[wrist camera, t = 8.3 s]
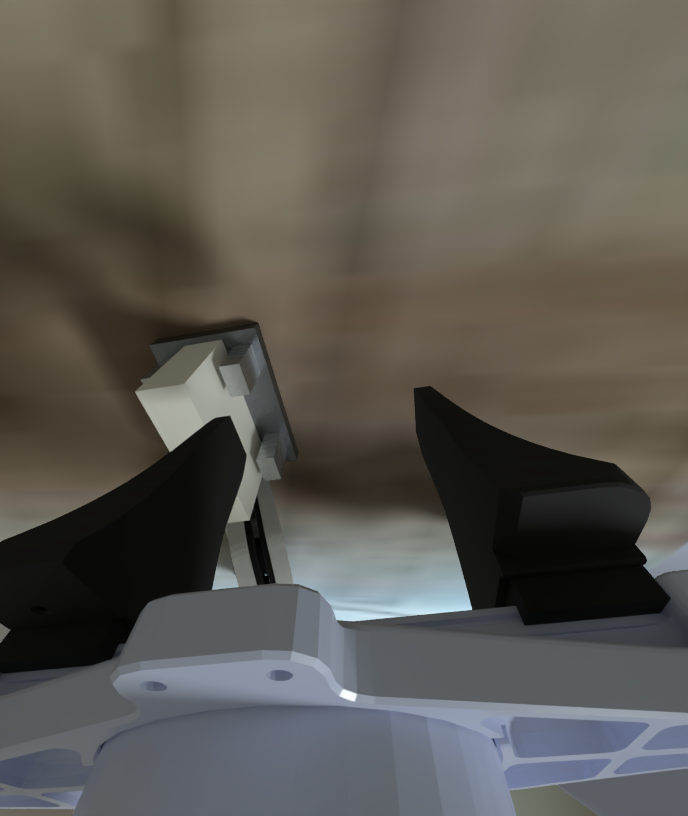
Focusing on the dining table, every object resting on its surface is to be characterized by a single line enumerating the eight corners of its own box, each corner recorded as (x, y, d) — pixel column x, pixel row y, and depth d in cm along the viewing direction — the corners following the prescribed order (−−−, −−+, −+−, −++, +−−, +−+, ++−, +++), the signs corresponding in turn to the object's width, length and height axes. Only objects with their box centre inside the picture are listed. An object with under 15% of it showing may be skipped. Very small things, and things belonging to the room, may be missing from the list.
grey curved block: (207, 468, 28) (209, 573, 20) (263, 454, 29) (286, 547, 21) (244, 578, 37) (257, 682, 29) (286, 564, 38) (308, 659, 30)
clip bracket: (258, 322, 21) (242, 345, 18) (298, 452, 27) (292, 487, 23) (156, 339, 21) (122, 365, 18) (217, 463, 27) (199, 499, 24)
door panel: (222, 339, 21) (184, 383, 15) (267, 458, 26) (249, 520, 21) (177, 347, 21) (124, 393, 16) (231, 463, 26) (204, 525, 21)
